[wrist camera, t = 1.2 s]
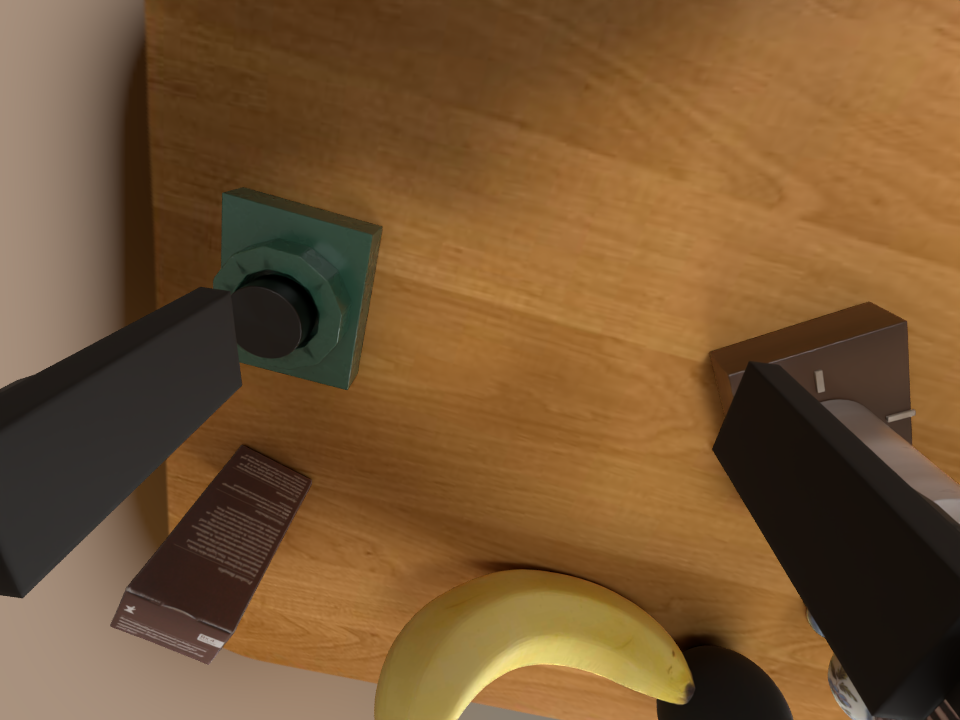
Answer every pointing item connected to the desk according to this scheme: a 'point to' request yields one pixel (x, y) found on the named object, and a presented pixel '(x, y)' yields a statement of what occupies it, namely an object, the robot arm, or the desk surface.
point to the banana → (523, 643)
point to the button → (272, 316)
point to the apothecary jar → (849, 698)
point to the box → (213, 558)
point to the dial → (899, 455)
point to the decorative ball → (726, 689)
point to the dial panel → (834, 361)
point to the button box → (304, 276)
